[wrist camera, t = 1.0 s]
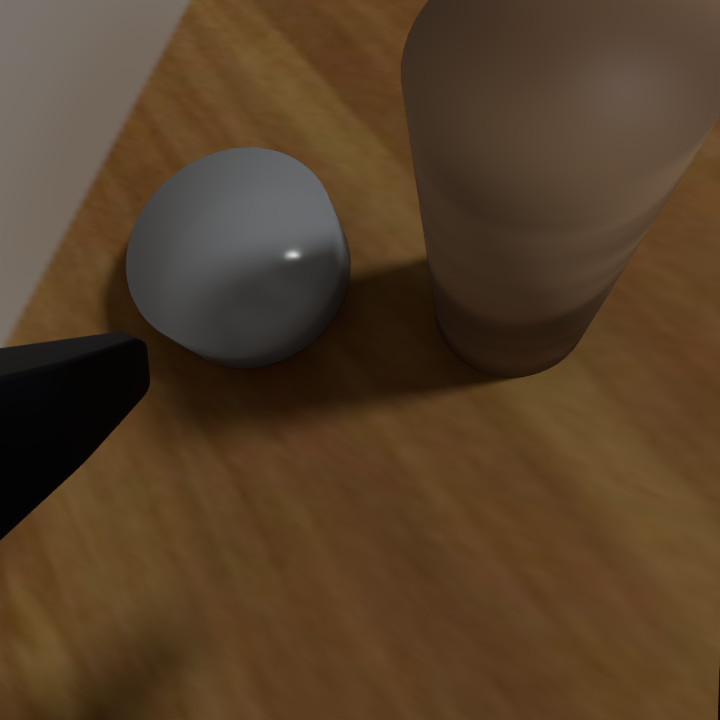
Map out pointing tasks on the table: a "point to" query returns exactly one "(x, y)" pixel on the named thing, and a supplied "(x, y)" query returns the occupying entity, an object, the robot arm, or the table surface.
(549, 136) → the walnut cylinder
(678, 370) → the table surface
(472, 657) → the table surface
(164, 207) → the slate pedestal
